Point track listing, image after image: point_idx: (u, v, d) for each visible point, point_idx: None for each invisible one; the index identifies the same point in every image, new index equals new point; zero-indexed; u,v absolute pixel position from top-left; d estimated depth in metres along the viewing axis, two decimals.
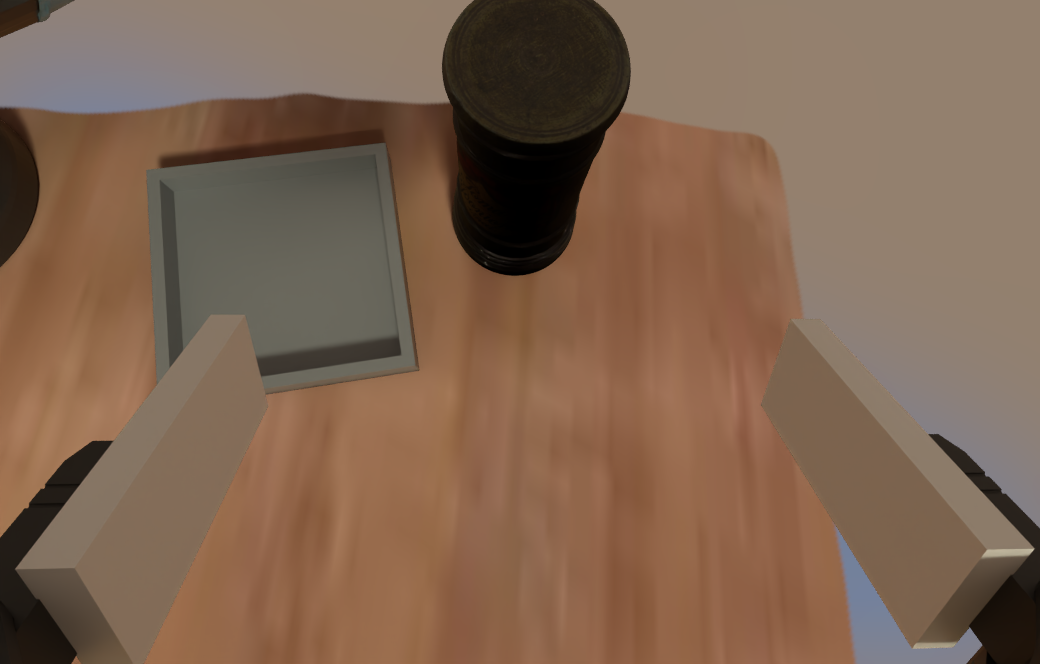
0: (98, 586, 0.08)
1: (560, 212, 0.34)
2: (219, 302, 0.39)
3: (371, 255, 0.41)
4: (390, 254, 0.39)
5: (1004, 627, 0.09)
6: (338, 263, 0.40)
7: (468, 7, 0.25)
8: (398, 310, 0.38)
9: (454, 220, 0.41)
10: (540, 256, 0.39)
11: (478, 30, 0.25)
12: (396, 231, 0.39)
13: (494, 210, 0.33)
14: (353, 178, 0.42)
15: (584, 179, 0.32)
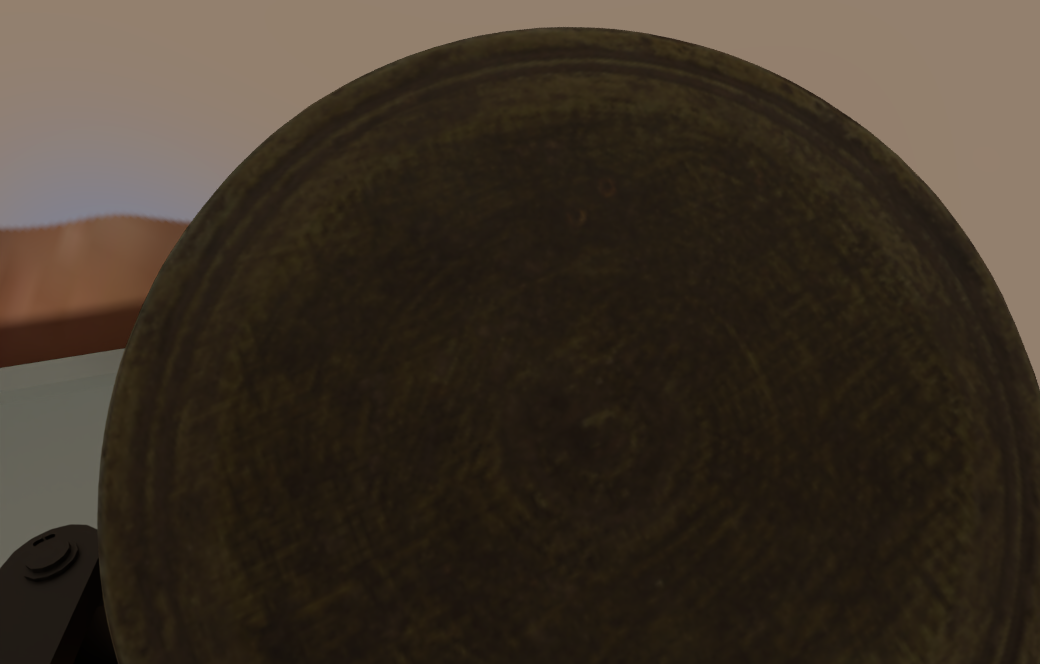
0: None
1: None
2: None
3: None
4: None
5: None
6: None
7: (244, 170, 0.05)
8: None
9: None
10: None
11: (284, 296, 0.05)
12: None
13: None
14: None
15: None
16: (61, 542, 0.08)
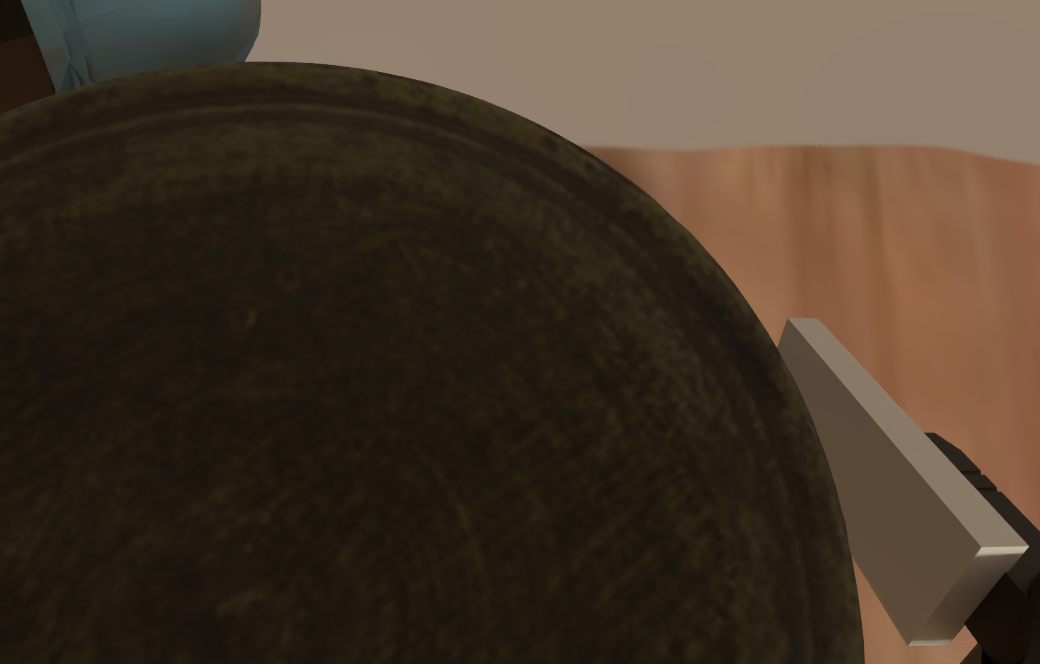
0: None
1: None
2: None
3: None
4: None
5: (999, 625, 0.09)
6: None
7: None
8: None
9: None
10: None
11: None
12: None
13: None
14: None
15: None
16: None
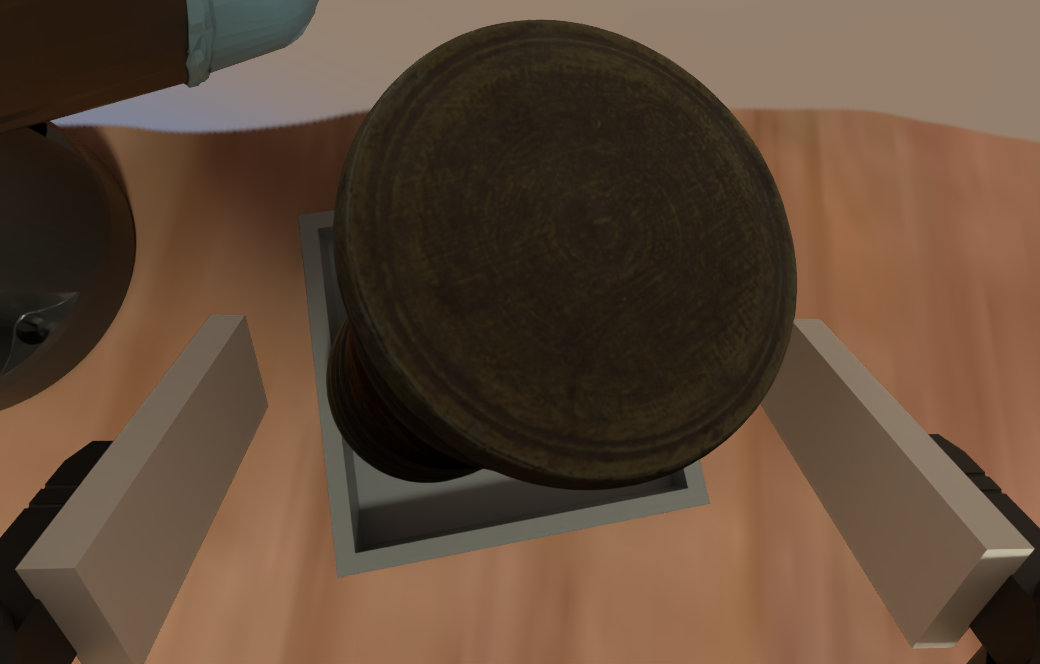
0: (98, 586, 0.08)
1: None
2: None
3: None
4: None
5: (1004, 627, 0.09)
6: None
7: (426, 60, 0.09)
8: None
9: (328, 383, 0.24)
10: None
11: (449, 129, 0.09)
12: None
13: (414, 451, 0.16)
14: None
15: None
16: None
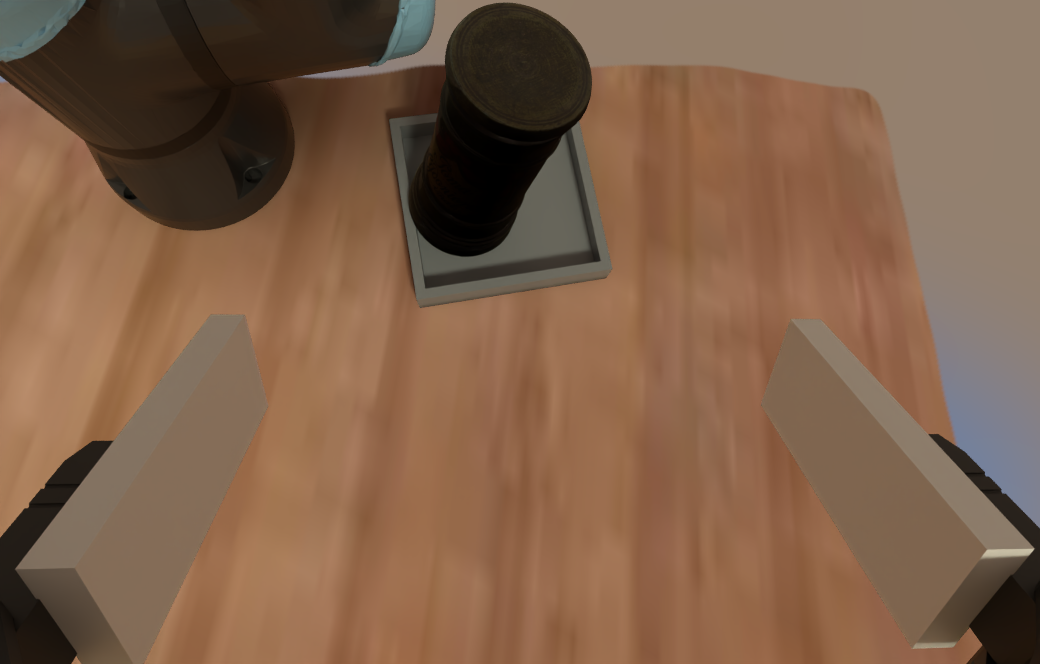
0: (98, 586, 0.08)
1: (514, 199, 0.40)
2: None
3: (562, 187, 0.50)
4: (585, 183, 0.48)
5: (1004, 627, 0.09)
6: (537, 193, 0.50)
7: (470, 14, 0.31)
8: (595, 226, 0.48)
9: (410, 200, 0.46)
10: (486, 240, 0.45)
11: (478, 33, 0.31)
12: (588, 165, 0.49)
13: (461, 188, 0.38)
14: None
15: None
16: None
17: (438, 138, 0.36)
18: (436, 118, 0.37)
